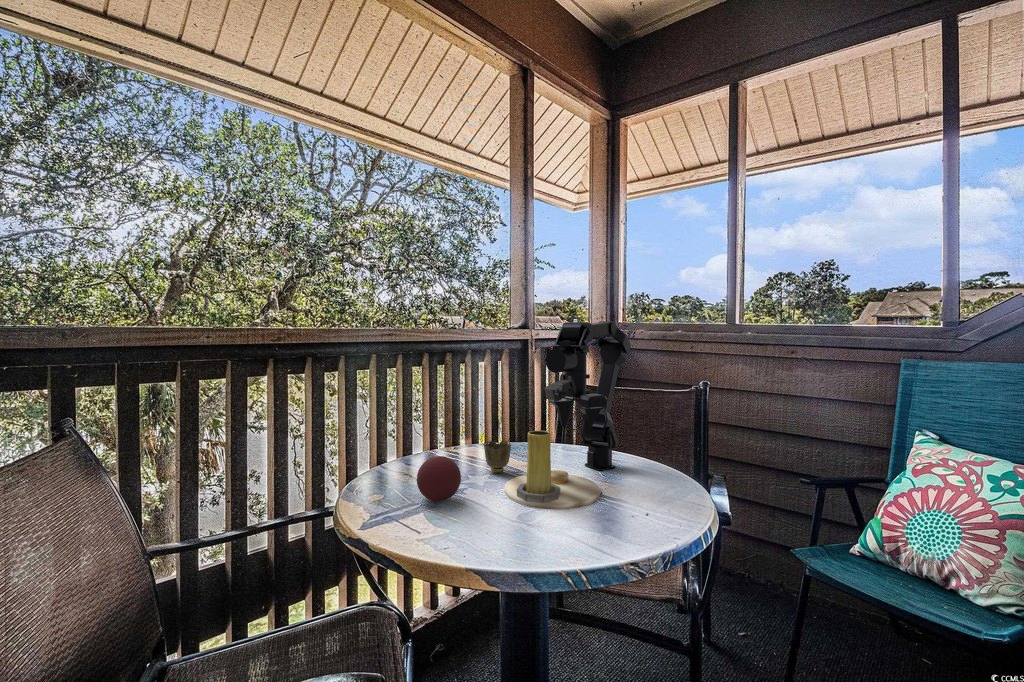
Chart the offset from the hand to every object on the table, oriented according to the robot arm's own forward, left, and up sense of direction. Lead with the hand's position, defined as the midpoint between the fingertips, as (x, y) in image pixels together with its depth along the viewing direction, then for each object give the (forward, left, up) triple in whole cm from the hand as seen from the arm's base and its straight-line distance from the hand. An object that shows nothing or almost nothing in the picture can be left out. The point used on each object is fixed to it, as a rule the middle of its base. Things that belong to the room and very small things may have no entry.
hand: (574, 430), depth 123 cm
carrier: (+10, +4, -13) cm, 17 cm away
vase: (+16, +7, -12) cm, 21 cm away
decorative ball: (+36, -4, -13) cm, 39 cm away
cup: (+14, -16, -13) cm, 25 cm away
